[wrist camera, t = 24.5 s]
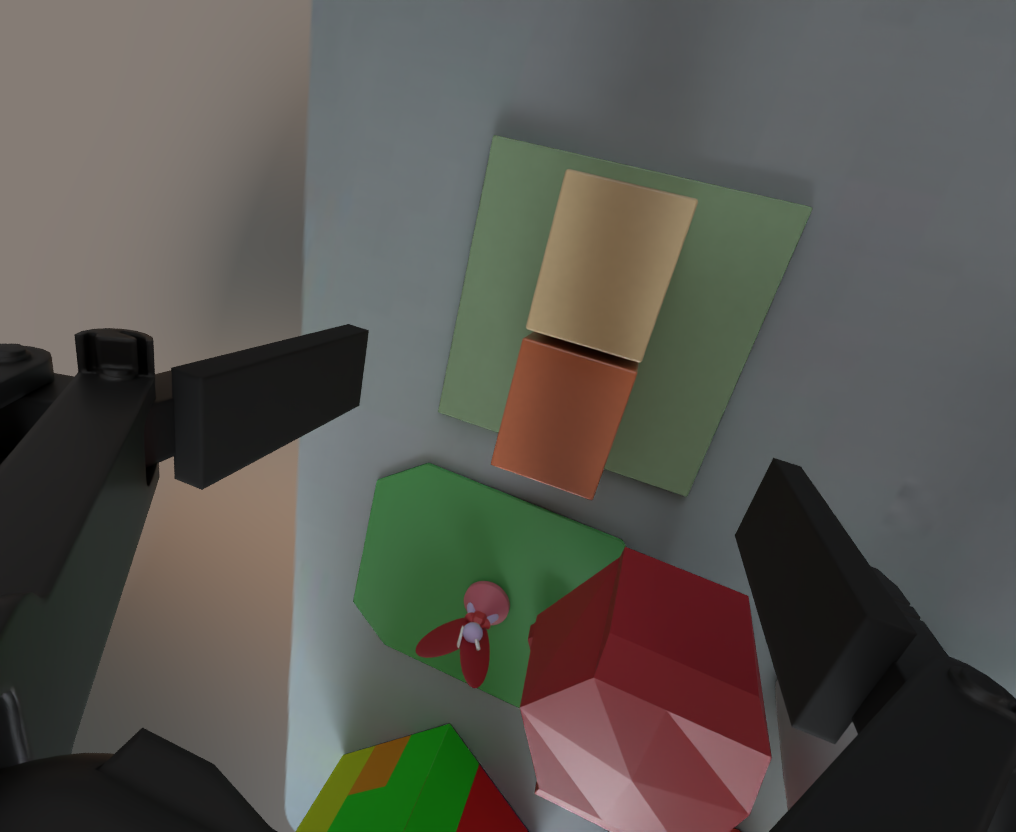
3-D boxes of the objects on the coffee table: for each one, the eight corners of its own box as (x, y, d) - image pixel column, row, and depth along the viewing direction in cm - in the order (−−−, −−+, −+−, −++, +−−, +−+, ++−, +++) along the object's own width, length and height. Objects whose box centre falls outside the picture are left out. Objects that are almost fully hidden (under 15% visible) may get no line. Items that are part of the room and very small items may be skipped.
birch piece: (550, 314, 21) (524, 329, 16) (584, 187, 19) (565, 167, 15) (643, 341, 20) (641, 363, 16) (688, 212, 18) (699, 199, 14)
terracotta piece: (519, 426, 22) (489, 465, 18) (548, 321, 21) (522, 337, 16) (603, 455, 22) (592, 501, 18) (640, 348, 20) (637, 372, 16)
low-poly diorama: (667, 774, 27) (673, 1002, 19) (349, 624, 30) (236, 763, 22) (799, 563, 21) (891, 755, 13) (392, 407, 25) (263, 483, 16)
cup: (791, 599, 22) (868, 789, 14) (1044, 687, 20) (1293, 960, 12) (727, 715, 25) (762, 928, 17) (945, 801, 23) (1097, 1084, 15)
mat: (441, 409, 24) (437, 412, 23) (496, 137, 19) (493, 134, 19) (686, 492, 22) (687, 497, 21) (809, 208, 17) (813, 207, 17)
